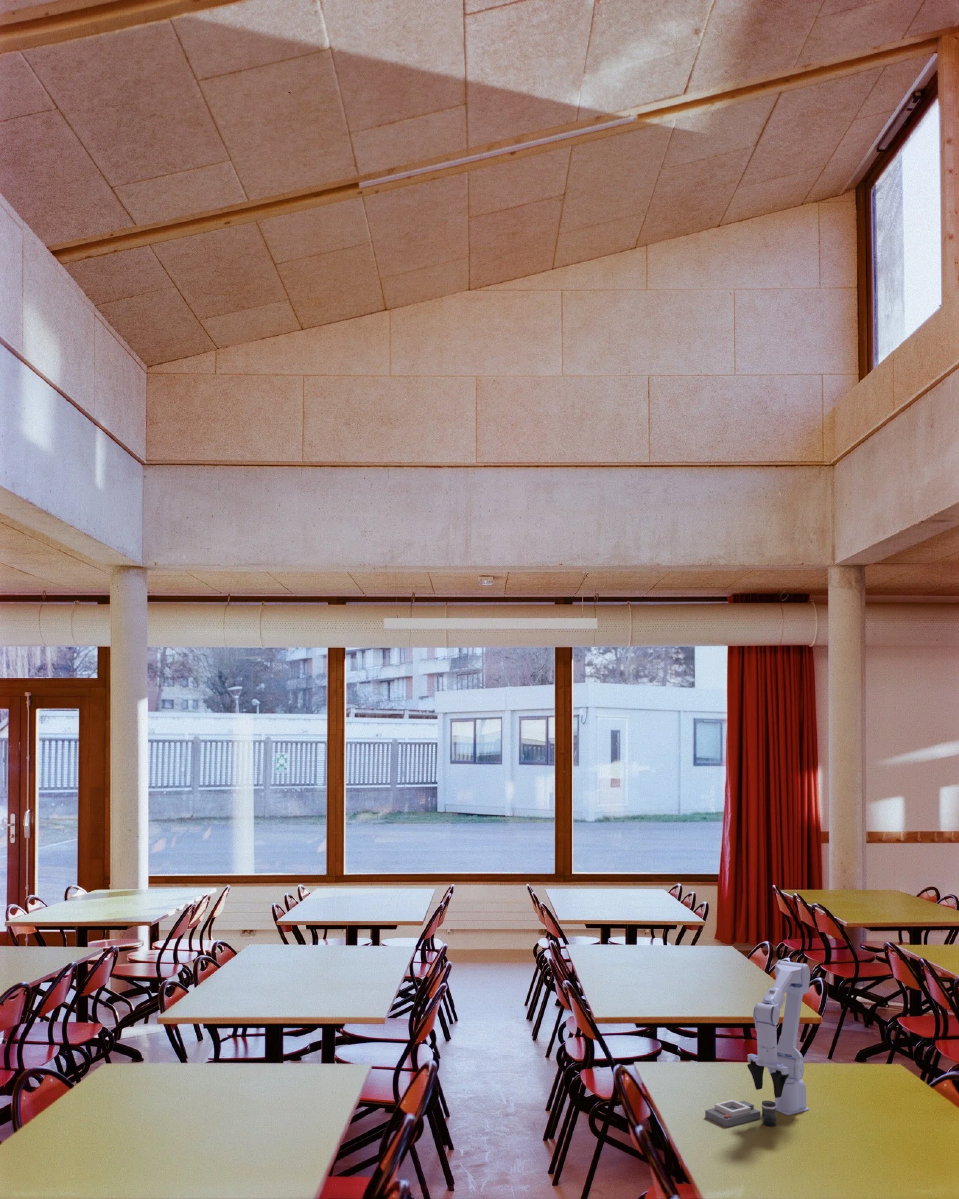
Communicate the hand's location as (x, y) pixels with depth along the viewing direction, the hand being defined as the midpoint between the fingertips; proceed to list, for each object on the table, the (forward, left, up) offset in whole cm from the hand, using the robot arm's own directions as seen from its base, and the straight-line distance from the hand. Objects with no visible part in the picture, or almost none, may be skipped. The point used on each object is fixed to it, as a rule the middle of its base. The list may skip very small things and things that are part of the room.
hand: (768, 1093), depth 304 cm
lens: (0, 0, -9) cm, 9 cm away
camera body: (+6, -9, -9) cm, 14 cm away
